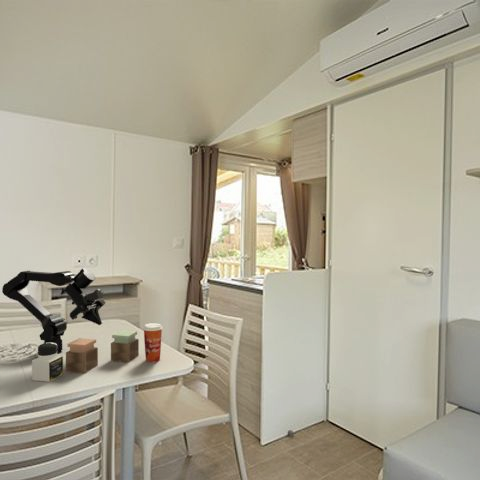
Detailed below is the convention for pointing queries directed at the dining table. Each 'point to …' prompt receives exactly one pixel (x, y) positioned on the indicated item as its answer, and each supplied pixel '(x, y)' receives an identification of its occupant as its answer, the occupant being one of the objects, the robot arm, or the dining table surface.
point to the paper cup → (152, 341)
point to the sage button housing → (124, 351)
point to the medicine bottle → (47, 363)
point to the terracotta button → (81, 345)
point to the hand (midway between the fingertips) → (100, 324)
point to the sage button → (124, 337)
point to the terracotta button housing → (81, 361)
